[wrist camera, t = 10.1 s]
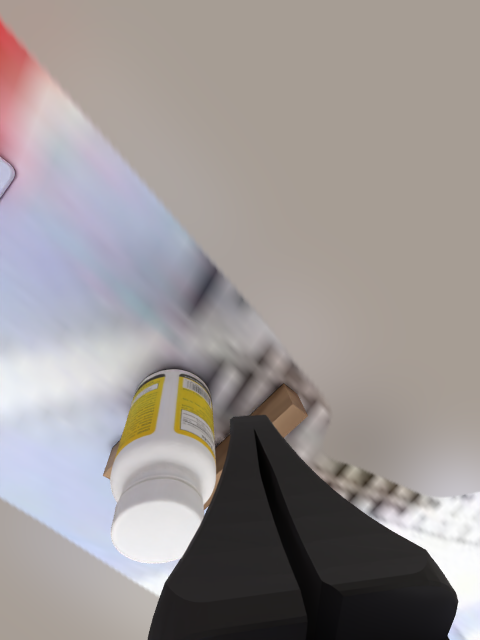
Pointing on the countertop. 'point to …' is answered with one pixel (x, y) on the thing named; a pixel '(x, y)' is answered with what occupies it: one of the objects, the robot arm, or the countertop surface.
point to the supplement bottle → (163, 467)
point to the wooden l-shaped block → (278, 408)
